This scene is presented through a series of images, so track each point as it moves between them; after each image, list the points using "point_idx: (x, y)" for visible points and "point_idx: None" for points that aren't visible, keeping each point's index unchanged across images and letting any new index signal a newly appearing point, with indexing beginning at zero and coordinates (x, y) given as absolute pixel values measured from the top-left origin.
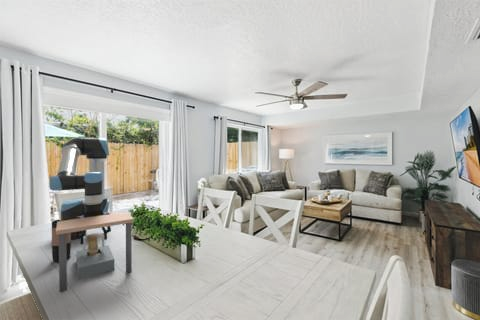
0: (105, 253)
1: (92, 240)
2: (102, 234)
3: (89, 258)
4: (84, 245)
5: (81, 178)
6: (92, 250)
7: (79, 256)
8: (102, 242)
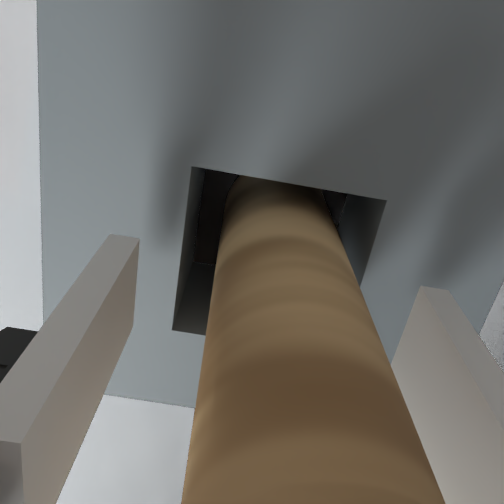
0: (138, 79)
1: (345, 366)
2: (27, 479)
3: (410, 61)
4: (474, 357)
5: None
6: (317, 240)
7: (474, 266)
8: (113, 319)
